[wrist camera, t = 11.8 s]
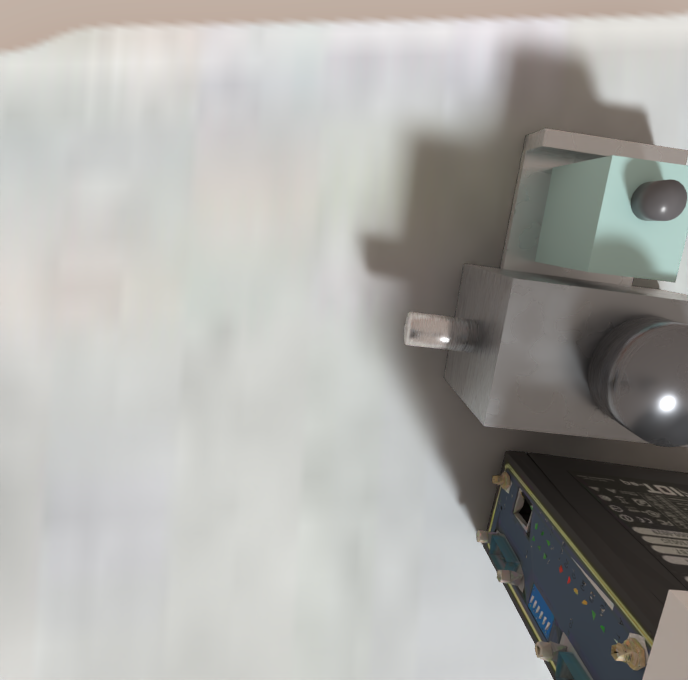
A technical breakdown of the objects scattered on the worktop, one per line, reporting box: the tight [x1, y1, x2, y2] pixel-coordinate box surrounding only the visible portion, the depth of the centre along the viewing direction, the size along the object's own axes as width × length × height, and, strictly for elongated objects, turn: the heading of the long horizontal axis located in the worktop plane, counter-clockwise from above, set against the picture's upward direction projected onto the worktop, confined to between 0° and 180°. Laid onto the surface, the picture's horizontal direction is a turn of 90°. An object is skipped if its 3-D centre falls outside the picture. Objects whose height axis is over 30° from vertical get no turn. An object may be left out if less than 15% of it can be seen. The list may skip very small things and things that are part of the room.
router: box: [476, 451, 688, 680], centre depth 31 cm, size 8×18×20 cm, turn 81°
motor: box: [404, 128, 688, 447], centre depth 31 cm, size 18×16×12 cm
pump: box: [535, 155, 688, 282], centre depth 31 cm, size 5×6×8 cm
